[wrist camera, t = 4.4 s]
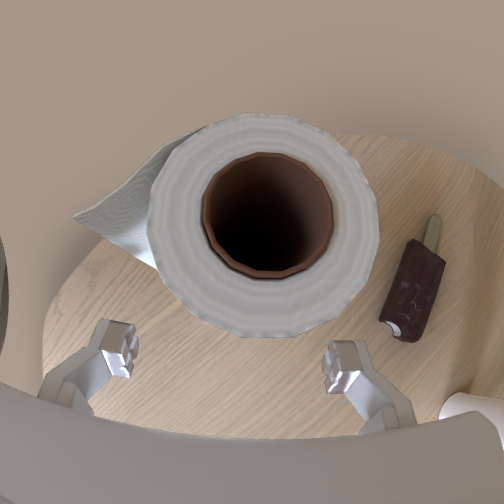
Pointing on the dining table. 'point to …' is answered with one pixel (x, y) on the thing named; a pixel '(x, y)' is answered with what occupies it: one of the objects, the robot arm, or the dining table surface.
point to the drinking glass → (493, 409)
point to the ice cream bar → (415, 286)
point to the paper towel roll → (249, 224)
